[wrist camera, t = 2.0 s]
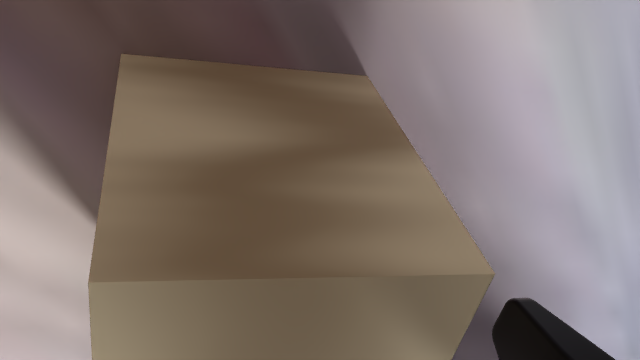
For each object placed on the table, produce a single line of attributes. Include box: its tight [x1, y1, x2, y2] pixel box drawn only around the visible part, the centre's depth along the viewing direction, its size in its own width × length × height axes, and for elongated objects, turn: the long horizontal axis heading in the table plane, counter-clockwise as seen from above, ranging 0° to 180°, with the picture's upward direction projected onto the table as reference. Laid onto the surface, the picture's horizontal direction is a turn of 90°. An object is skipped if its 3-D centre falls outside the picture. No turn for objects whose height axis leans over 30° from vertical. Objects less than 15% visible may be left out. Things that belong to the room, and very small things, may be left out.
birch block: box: [88, 54, 495, 360], centre depth 10 cm, size 5×5×6 cm
